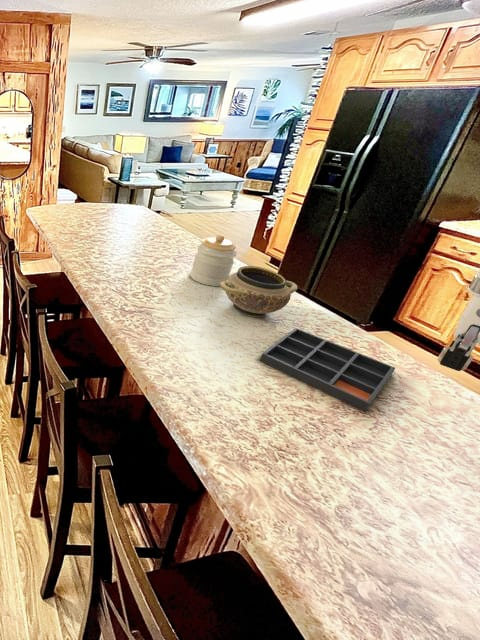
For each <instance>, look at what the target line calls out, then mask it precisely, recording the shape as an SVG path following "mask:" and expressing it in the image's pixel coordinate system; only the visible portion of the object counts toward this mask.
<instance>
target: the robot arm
mask: <svg viewBox="0 0 480 640" xmlns="http://www.w3.org/2000/svg"><path fill="white" fill-rule="evenodd" d="M466 290H467V292H468V293H470V294H472V297H471V298H470V300H469V302H468V303H467V305H466V307H465V308H464V310H463V312H462V314H461V316H460V318H459V320H458V322H457V324H456V327H455V330H454V333H453V336H452V337H453V338H454V340H452V341H451V343H450V344H449V345H448V347H451V349H449V348H448V350H447V352H446V353H445V355H444V357H443V358H442V360H441V361H440V362H439V365H441V366H443V367H446V368H448V369H451V370H454V371H457V372H461V371H463V370H462V368H463V367H464V365H465V364H466V362H467V360H468V359H469V357H470V354H471V353H472V352H473V351H474V349H475V347H476V345H477V346H480V267H479V268H478V270H477V271H476V273H475V275H474V277H473V279H472V280H471V282H470V283H469V285H468V287H467V288H466Z"/></svg>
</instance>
